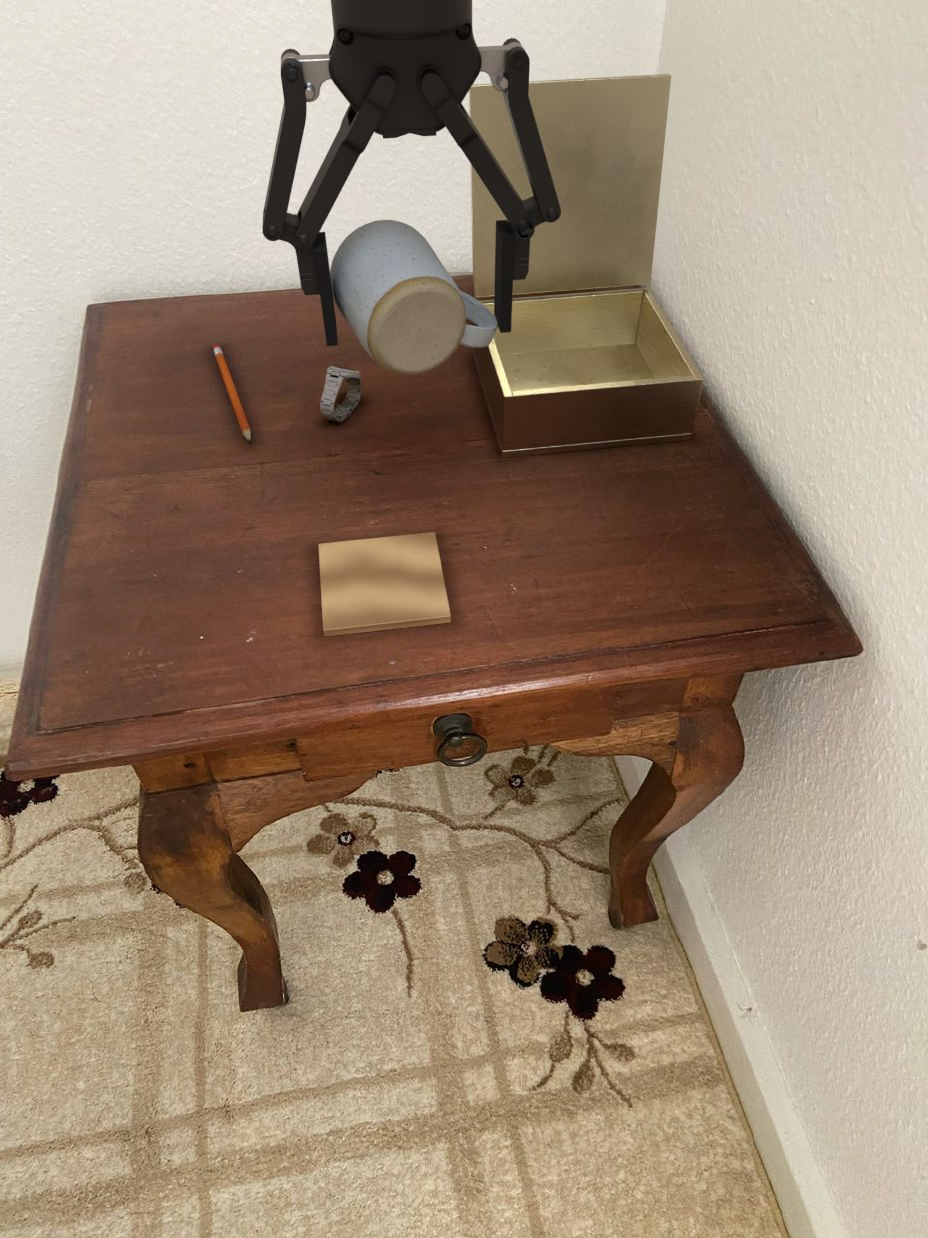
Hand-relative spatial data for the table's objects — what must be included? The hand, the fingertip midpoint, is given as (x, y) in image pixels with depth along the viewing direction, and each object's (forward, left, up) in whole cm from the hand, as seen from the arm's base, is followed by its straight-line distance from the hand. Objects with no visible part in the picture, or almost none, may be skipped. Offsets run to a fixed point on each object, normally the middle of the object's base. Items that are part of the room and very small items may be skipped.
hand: (417, 329), depth 60 cm
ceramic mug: (0, 0, -1) cm, 1 cm away
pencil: (+25, +17, -20) cm, 37 cm away
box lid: (+29, -18, -3) cm, 34 cm away
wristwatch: (+20, +6, -20) cm, 29 cm away
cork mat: (-5, +4, -20) cm, 21 cm away
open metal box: (+19, -18, -20) cm, 33 cm away
